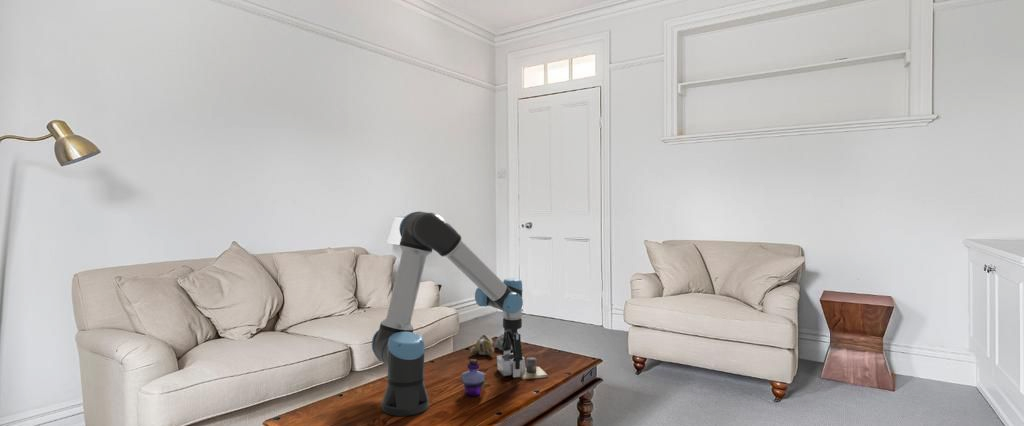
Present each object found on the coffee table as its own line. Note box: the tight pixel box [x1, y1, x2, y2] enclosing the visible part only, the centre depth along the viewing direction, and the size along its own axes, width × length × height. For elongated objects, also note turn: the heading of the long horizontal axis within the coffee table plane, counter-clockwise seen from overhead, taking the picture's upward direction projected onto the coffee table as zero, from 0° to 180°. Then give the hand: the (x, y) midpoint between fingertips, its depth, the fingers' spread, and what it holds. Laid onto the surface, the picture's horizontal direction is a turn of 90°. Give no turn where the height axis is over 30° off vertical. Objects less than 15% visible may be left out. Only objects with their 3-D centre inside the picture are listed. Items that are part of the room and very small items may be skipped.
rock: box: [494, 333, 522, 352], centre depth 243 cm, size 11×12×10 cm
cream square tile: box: [520, 356, 549, 380], centre depth 208 cm, size 10×10×6 cm
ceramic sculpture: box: [469, 333, 495, 357], centre depth 234 cm, size 11×9×15 cm
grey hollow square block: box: [496, 352, 526, 377], centre depth 210 cm, size 9×9×6 cm
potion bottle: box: [461, 358, 486, 398], centre depth 186 cm, size 9×9×12 cm
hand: (511, 371), depth 210 cm, fingers open, 12 cm apart
